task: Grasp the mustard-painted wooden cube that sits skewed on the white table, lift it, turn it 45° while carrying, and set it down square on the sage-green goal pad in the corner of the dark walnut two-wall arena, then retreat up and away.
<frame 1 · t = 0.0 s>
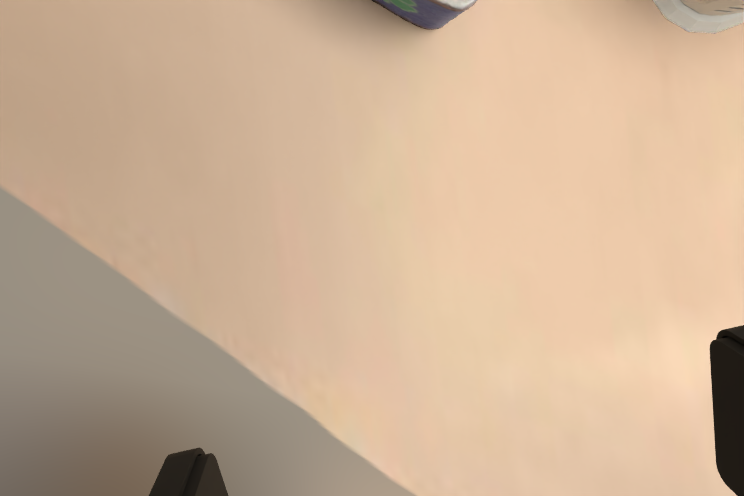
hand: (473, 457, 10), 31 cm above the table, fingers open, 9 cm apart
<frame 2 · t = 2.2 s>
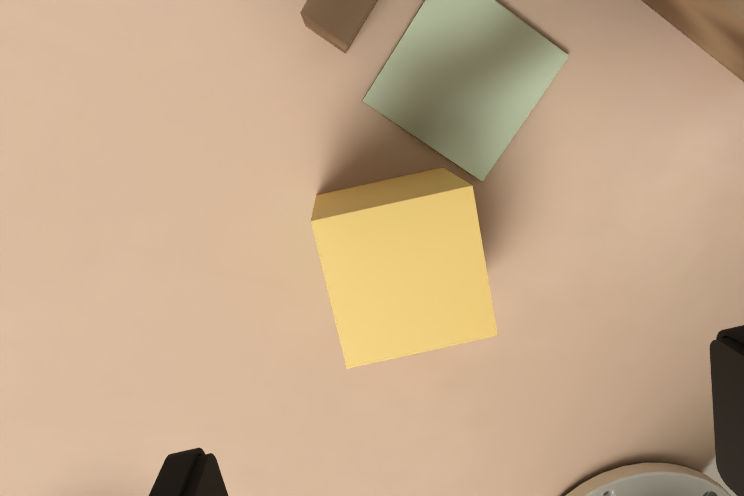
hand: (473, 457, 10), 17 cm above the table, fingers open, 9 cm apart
cube: (392, 242, 27), on the table
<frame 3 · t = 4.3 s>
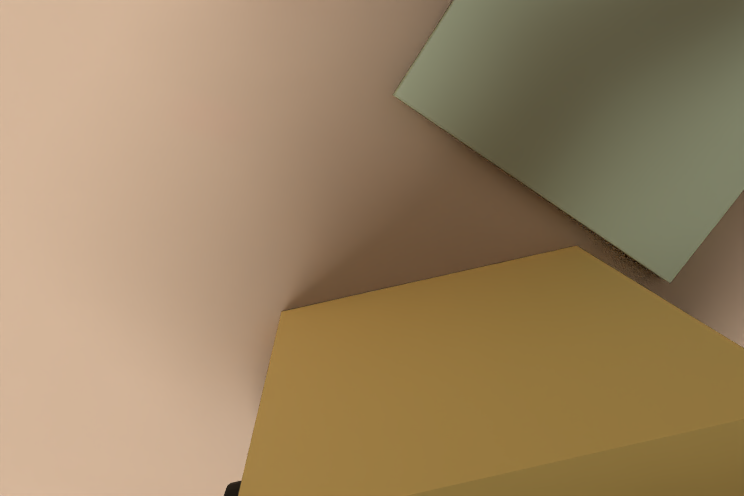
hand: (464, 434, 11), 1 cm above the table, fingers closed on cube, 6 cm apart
cube: (454, 409, 12), on the table, touching gripper
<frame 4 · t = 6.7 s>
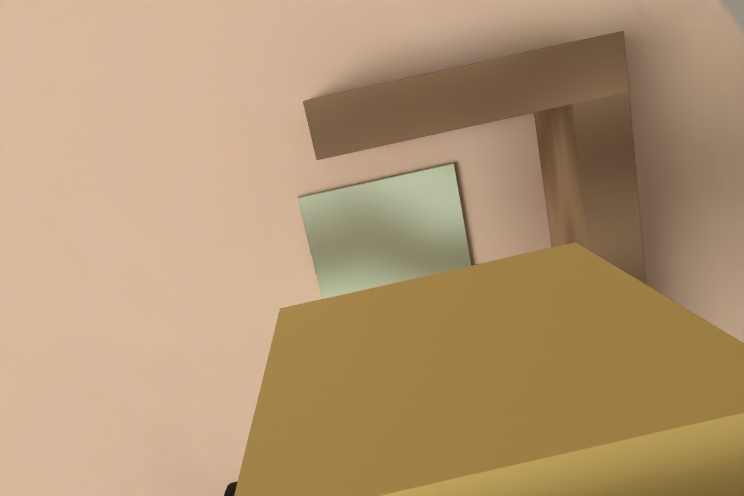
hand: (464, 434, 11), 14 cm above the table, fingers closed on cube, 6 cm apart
arena: (532, 103, 24), on the table
cube: (453, 407, 12), point 13 cm above the table, touching gripper
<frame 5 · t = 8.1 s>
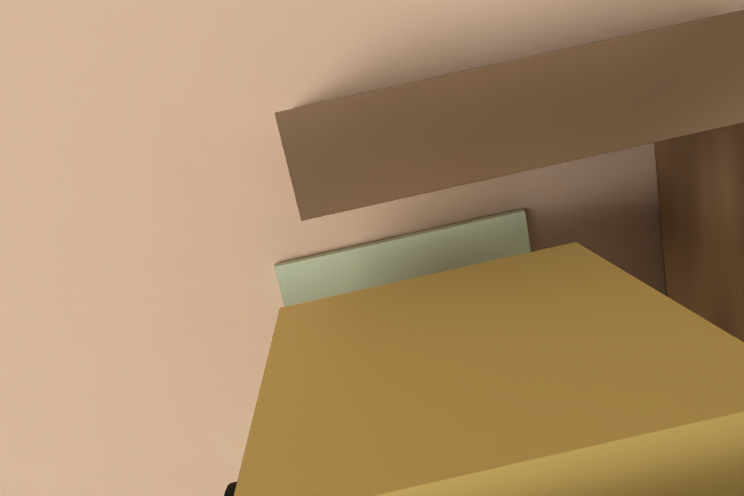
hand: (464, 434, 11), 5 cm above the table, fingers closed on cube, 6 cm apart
arena: (651, 113, 15), on the table
cube: (453, 406, 12), point 4 cm above the table, touching gripper
when the fingers open (3 cm above the table, at t = 9.1 s): cube drops 1 cm, resting on arena.
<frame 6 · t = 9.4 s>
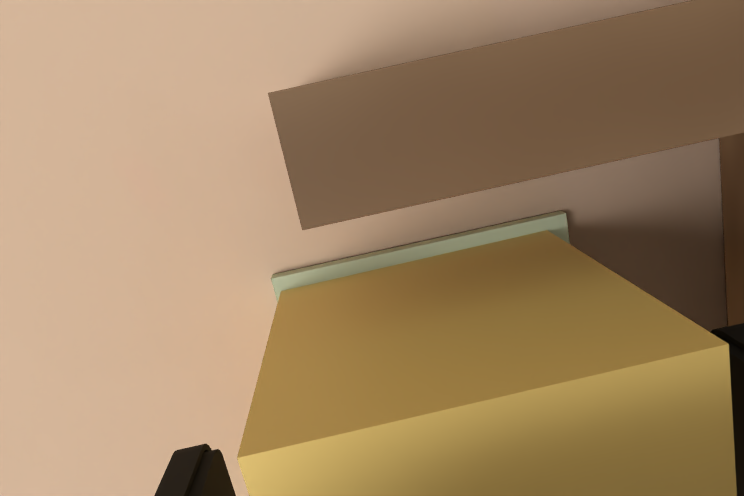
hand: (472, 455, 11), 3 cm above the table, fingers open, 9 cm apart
arena: (717, 98, 12), on the table
cube: (439, 380, 13), resting on arena
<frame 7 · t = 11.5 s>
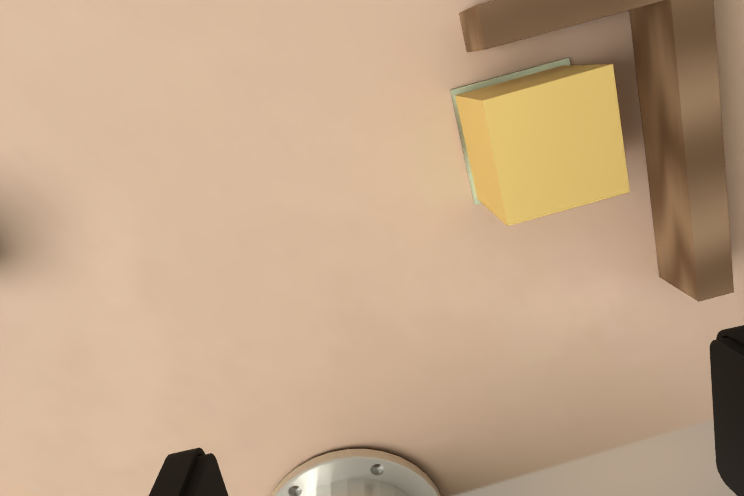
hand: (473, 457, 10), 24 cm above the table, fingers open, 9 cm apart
arena: (628, 7, 31), on the table
cube: (518, 134, 32), resting on arena
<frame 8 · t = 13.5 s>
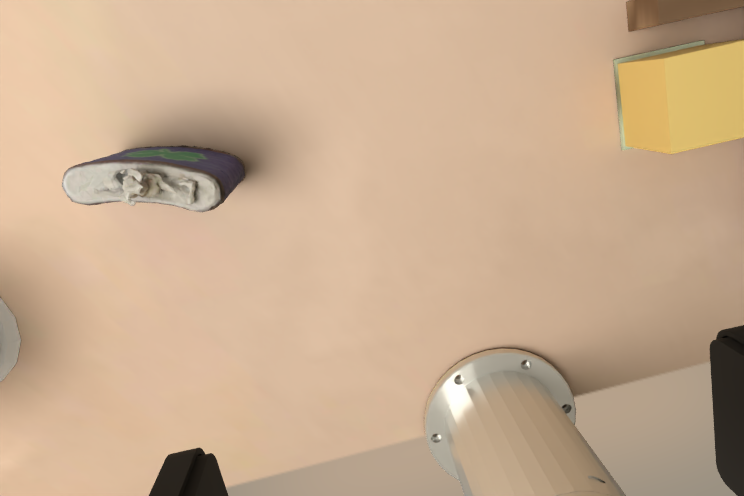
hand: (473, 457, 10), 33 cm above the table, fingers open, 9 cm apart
cube: (661, 96, 42), resting on arena
purple clover tin: (182, 166, 42), on the table
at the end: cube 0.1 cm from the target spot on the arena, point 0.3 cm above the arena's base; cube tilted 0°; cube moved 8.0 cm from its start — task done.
